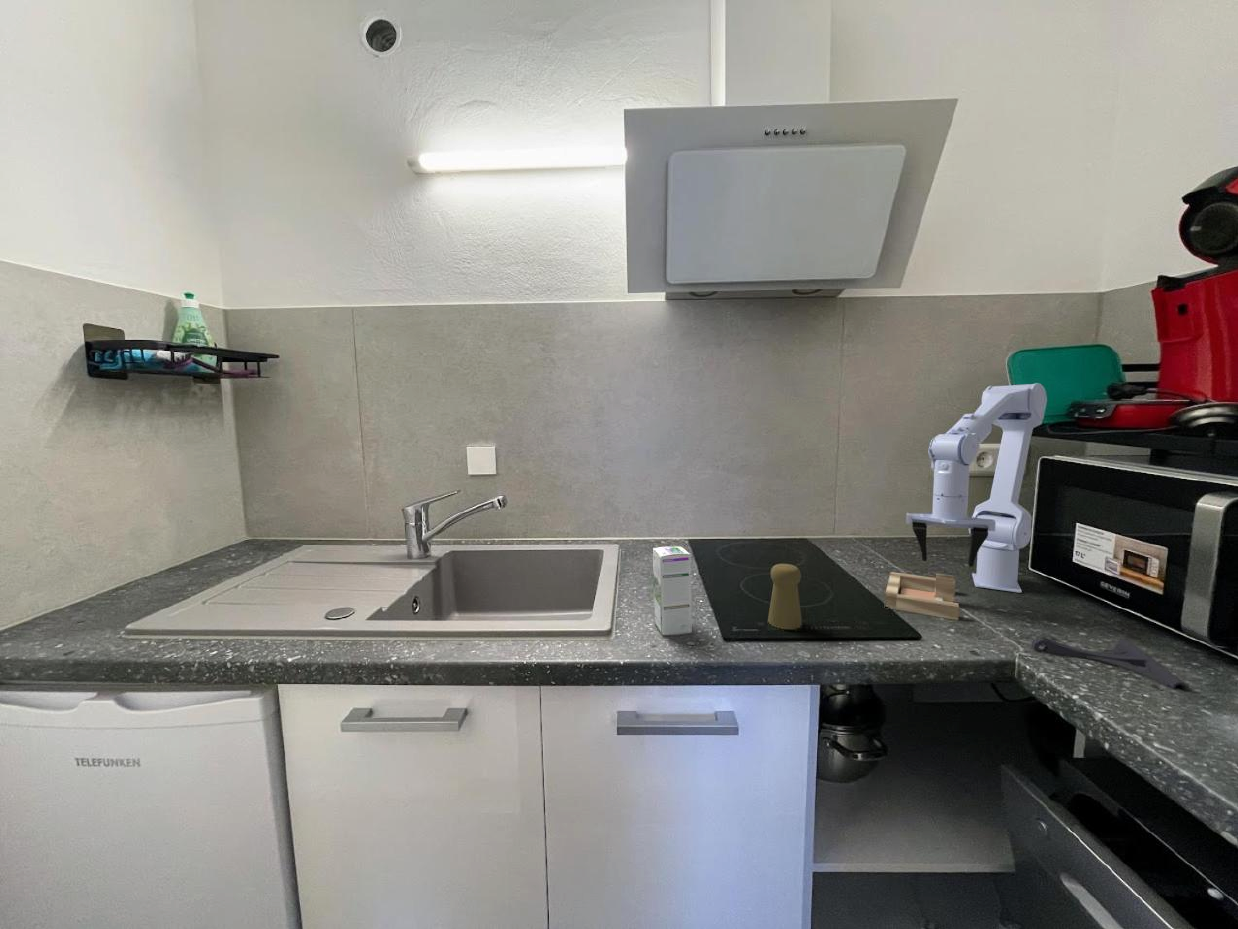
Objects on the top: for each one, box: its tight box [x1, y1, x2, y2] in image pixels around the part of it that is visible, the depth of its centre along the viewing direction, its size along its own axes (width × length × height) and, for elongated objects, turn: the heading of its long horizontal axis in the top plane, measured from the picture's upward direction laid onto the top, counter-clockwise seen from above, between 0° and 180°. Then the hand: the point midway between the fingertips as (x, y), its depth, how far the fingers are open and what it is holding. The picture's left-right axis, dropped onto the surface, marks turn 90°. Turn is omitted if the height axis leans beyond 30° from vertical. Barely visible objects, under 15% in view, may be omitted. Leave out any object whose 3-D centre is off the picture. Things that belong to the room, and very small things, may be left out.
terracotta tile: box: [900, 587, 935, 600], centre depth 102 cm, size 6×6×2 cm
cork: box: [767, 563, 803, 629], centre depth 90 cm, size 6×6×11 cm
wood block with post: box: [935, 573, 955, 603], centre depth 99 cm, size 10×3×6 cm, turn 148°
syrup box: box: [652, 545, 693, 636], centre depth 89 cm, size 6×6×14 cm
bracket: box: [1031, 636, 1190, 692], centre depth 76 cm, size 14×15×3 cm
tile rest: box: [884, 571, 960, 621], centre depth 101 cm, size 17×12×2 cm
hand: (947, 562), depth 99 cm, fingers open, 7 cm apart
